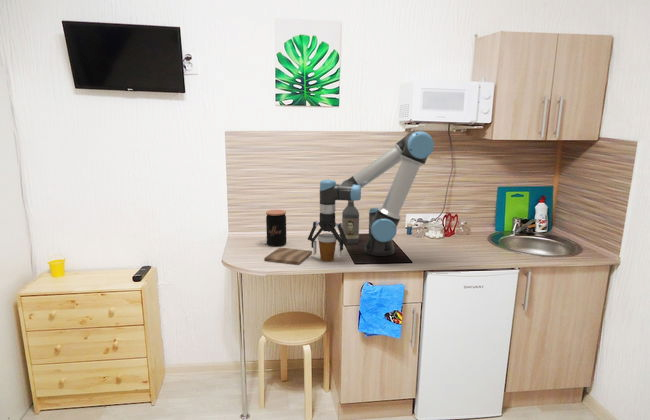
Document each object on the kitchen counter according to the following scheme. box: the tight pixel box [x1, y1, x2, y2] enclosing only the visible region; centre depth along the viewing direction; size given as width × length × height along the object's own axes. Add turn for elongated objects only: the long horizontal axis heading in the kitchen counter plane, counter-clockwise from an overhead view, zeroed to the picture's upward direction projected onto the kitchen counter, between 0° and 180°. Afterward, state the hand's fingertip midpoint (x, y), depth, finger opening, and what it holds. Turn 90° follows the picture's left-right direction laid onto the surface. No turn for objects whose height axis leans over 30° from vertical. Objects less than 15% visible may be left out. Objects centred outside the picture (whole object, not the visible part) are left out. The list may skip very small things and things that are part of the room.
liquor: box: [341, 201, 360, 245], centre depth 240 cm, size 9×9×30 cm
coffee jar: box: [265, 209, 287, 247], centre depth 237 cm, size 11×11×18 cm
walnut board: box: [263, 246, 313, 266], centre depth 216 cm, size 18×18×2 cm
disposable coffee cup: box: [317, 232, 338, 262], centre depth 212 cm, size 10×10×12 cm
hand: (327, 255), depth 213 cm, fingers open, 12 cm apart
